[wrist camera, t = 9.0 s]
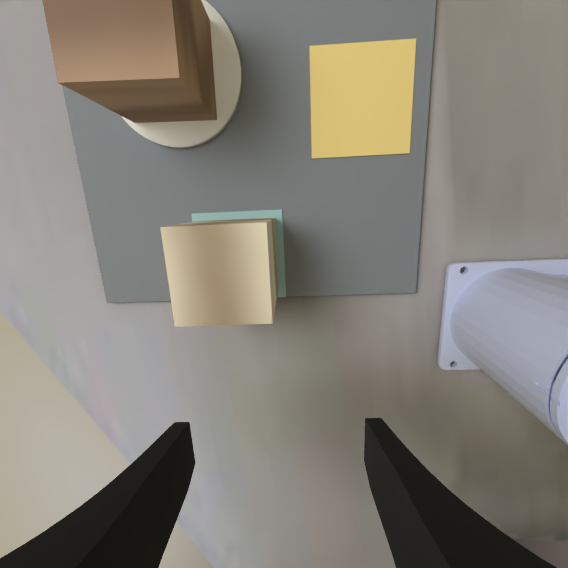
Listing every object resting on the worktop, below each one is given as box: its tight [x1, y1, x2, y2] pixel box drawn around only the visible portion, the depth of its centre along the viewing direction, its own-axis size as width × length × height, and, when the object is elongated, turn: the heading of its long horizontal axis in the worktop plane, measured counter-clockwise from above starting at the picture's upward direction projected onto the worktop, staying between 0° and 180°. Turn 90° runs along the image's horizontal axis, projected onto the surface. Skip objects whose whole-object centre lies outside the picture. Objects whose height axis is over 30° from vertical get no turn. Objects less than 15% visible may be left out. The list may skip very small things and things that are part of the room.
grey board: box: [62, 0, 436, 303], centre depth 19 cm, size 22×18×1 cm
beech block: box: [160, 218, 279, 326], centre depth 17 cm, size 5×5×6 cm
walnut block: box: [43, 0, 217, 123], centre depth 14 cm, size 5×5×6 cm
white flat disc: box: [122, 0, 242, 148], centre depth 17 cm, size 8×8×1 cm
